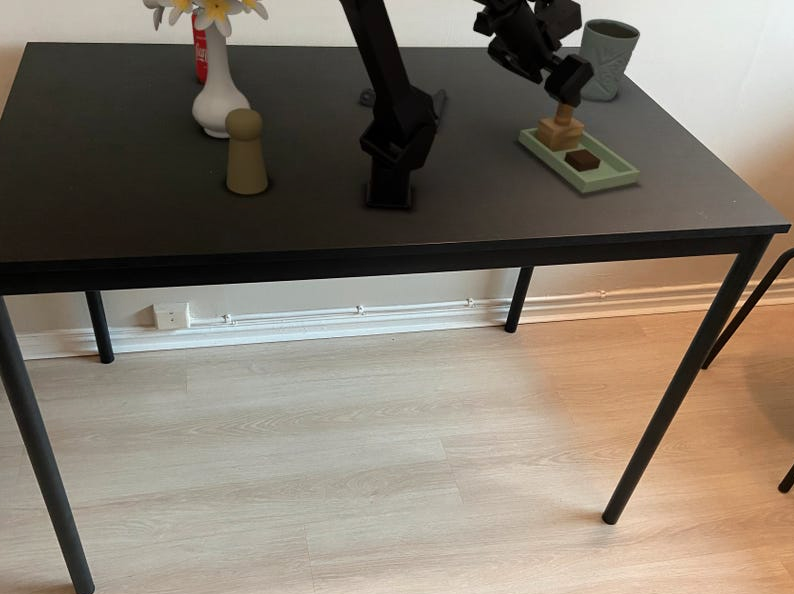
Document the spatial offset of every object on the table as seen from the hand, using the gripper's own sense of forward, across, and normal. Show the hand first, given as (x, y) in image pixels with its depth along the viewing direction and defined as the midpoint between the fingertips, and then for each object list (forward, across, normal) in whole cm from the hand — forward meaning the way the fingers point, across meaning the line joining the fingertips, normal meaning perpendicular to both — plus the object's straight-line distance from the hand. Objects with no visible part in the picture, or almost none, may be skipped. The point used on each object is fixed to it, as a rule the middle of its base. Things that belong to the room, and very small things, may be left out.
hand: (558, 93), depth 112 cm
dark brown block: (+8, -7, +5) cm, 12 cm away
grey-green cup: (+25, +16, -11) cm, 31 cm away
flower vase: (-27, +26, +41) cm, 55 cm away
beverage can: (-23, +45, +37) cm, 63 cm away
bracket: (-3, +23, +18) cm, 29 cm away
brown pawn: (-28, +8, +42) cm, 51 cm away
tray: (+8, -6, +6) cm, 11 cm away
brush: (+8, 0, +5) cm, 9 cm away
